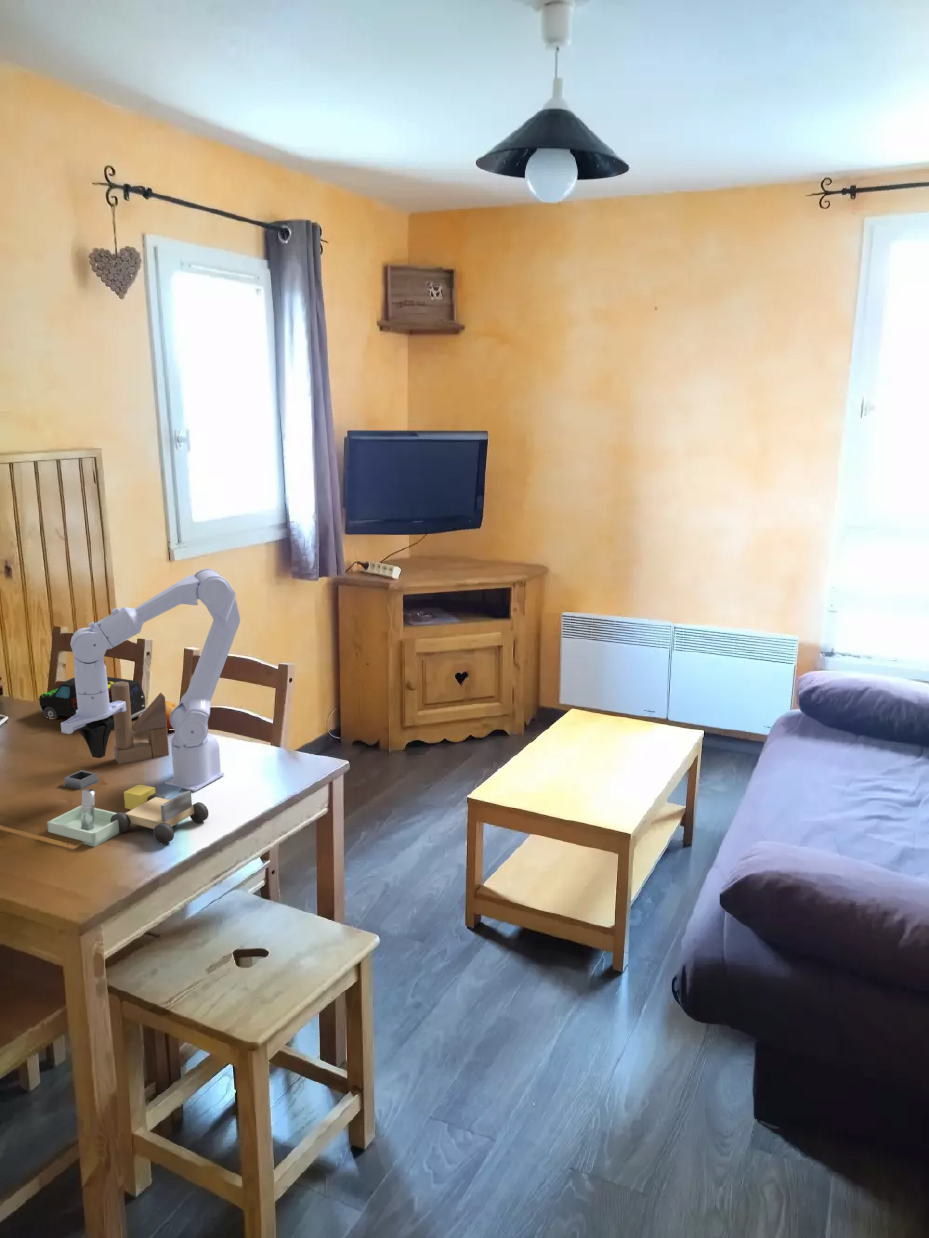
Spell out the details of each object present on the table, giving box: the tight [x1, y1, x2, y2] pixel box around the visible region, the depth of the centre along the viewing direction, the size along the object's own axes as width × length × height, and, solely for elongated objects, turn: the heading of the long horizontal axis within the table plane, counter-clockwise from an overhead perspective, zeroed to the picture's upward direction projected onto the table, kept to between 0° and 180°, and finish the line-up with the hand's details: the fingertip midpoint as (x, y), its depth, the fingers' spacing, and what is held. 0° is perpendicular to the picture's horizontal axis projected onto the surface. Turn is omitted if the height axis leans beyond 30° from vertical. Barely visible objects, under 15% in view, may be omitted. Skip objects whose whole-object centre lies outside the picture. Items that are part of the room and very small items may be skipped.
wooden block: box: [111, 681, 170, 765], centre depth 193 cm, size 4×11×18 cm, turn 121°
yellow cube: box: [123, 783, 156, 810], centre depth 170 cm, size 4×4×4 cm
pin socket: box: [62, 769, 101, 791], centre depth 181 cm, size 5×5×2 cm
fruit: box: [165, 700, 179, 733], centre depth 212 cm, size 8×8×8 cm
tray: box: [46, 804, 120, 848], centre depth 161 cm, size 8×11×2 cm
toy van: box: [38, 676, 147, 720], centre depth 220 cm, size 11×25×10 cm, turn 71°
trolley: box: [111, 790, 209, 845], centre depth 163 cm, size 10×14×6 cm
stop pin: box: [81, 788, 96, 830], centre depth 161 cm, size 2×2×7 cm
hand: (98, 756), depth 174 cm, fingers closed
